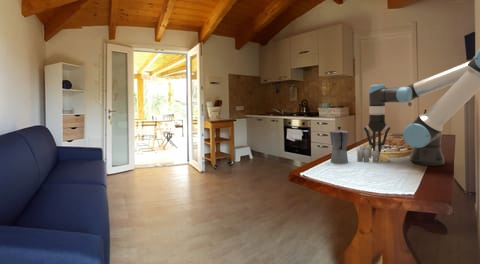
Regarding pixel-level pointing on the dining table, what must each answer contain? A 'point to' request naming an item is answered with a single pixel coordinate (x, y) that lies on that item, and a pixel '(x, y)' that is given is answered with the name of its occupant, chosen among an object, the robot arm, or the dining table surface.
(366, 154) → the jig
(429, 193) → the dining table surface
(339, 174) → the dining table surface
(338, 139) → the moka pot
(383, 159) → the nut
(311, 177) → the dining table surface
